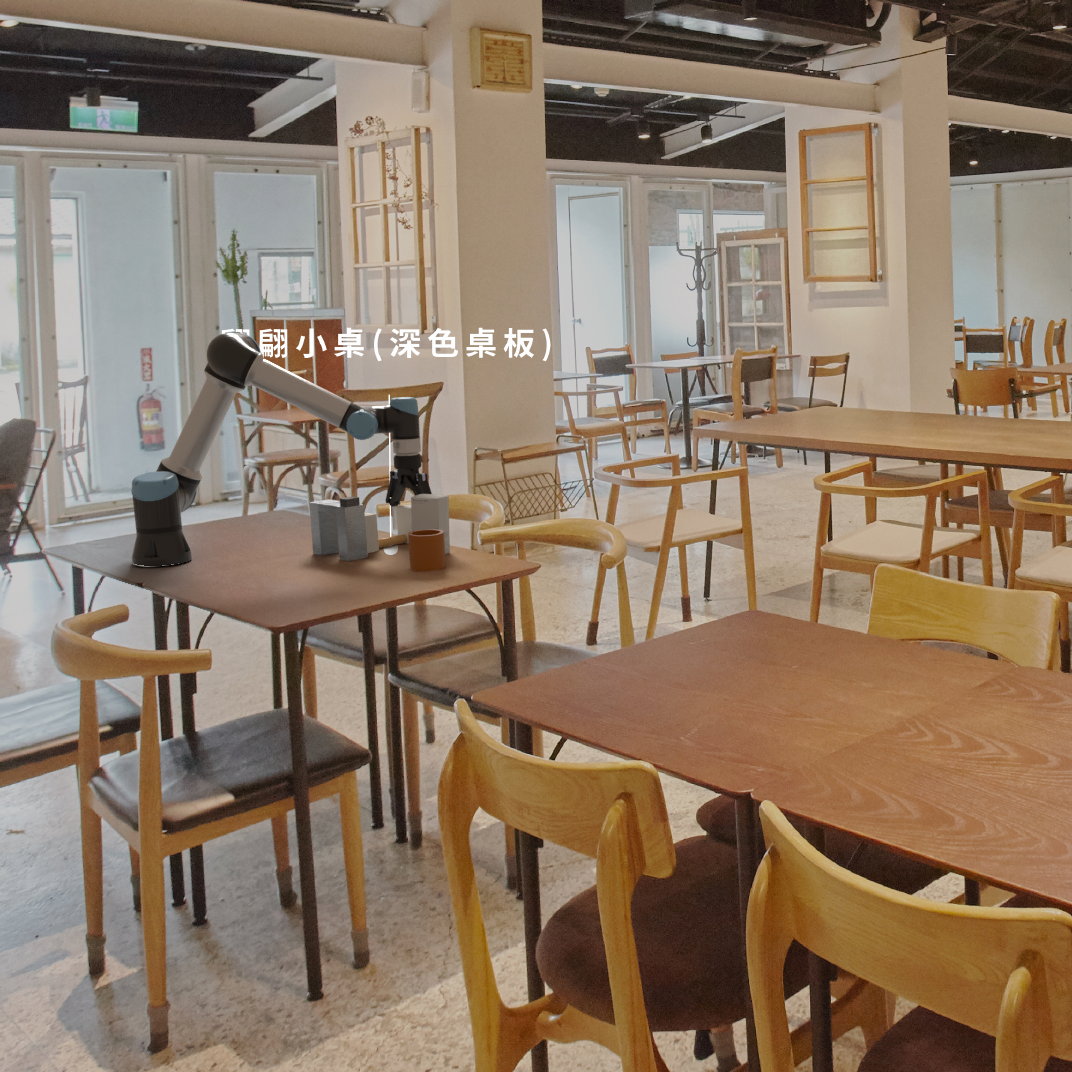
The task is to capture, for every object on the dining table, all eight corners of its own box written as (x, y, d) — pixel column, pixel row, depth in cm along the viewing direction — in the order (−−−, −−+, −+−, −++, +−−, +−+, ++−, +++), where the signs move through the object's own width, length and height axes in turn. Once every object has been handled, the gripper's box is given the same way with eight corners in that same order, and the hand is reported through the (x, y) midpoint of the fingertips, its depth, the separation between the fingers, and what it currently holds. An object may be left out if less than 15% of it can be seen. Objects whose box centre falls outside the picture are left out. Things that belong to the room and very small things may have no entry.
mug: (456, 562, 307) (454, 527, 305) (437, 572, 296) (436, 536, 294) (423, 560, 310) (421, 526, 308) (403, 571, 298) (402, 535, 297)
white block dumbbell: (350, 551, 327) (348, 514, 325) (412, 539, 341) (410, 504, 339) (363, 553, 322) (361, 516, 321) (425, 541, 336) (423, 505, 335)
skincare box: (412, 556, 317) (408, 497, 314) (423, 551, 323) (420, 493, 320) (440, 557, 313) (437, 497, 311) (452, 552, 319) (449, 493, 317)
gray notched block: (313, 554, 325) (308, 494, 322) (332, 550, 329) (327, 492, 326) (348, 561, 313) (344, 500, 310) (367, 557, 317) (363, 496, 314)
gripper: (369, 453, 339) (374, 528, 343) (423, 458, 321) (428, 537, 325) (391, 450, 344) (396, 524, 348) (445, 454, 326) (450, 533, 330)
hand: (411, 531), depth 336 cm, fingers open, 12 cm apart
